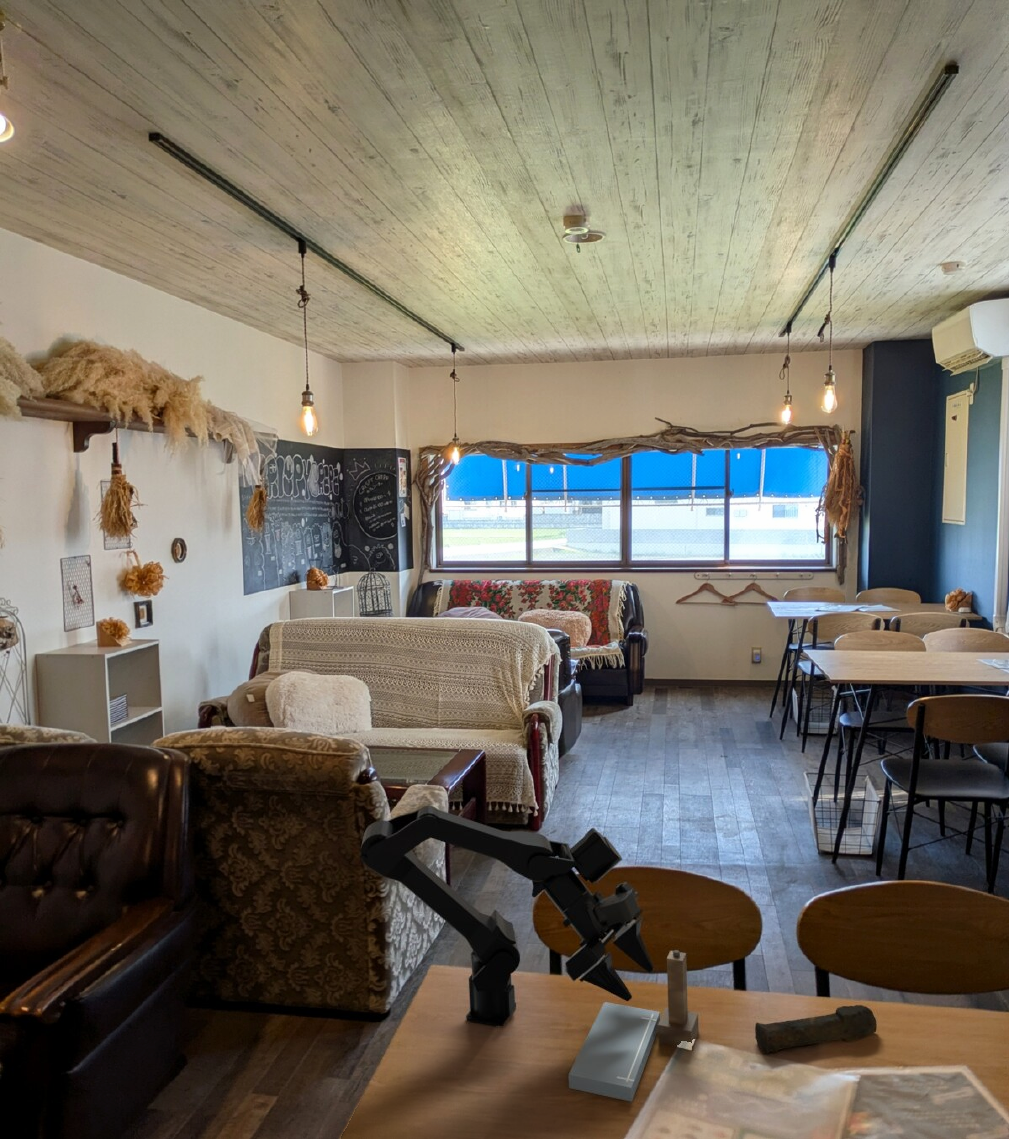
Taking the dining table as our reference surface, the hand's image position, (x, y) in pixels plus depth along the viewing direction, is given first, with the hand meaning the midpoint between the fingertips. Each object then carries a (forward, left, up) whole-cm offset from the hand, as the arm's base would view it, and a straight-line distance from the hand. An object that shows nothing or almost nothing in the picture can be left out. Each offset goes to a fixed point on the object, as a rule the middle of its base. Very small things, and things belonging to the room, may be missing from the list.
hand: (641, 984), depth 136 cm
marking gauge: (+6, -1, -7) cm, 9 cm away
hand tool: (+25, +5, -8) cm, 27 cm away
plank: (-2, -8, -7) cm, 11 cm away
